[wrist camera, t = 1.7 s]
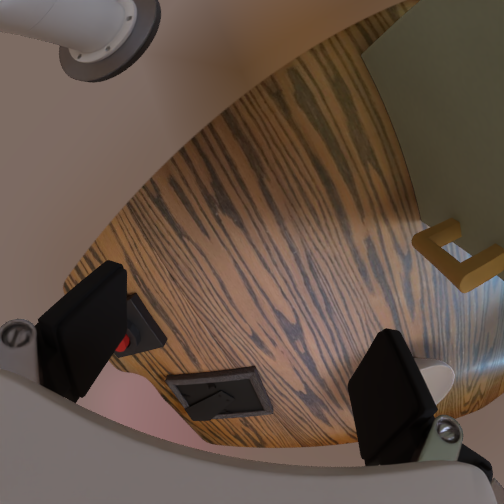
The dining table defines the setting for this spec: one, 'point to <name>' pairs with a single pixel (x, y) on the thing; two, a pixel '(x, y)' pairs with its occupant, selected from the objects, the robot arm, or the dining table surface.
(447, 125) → the cabinet door
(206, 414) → the picture frame
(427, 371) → the bowl
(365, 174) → the dining table surface
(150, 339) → the switch block
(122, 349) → the button
